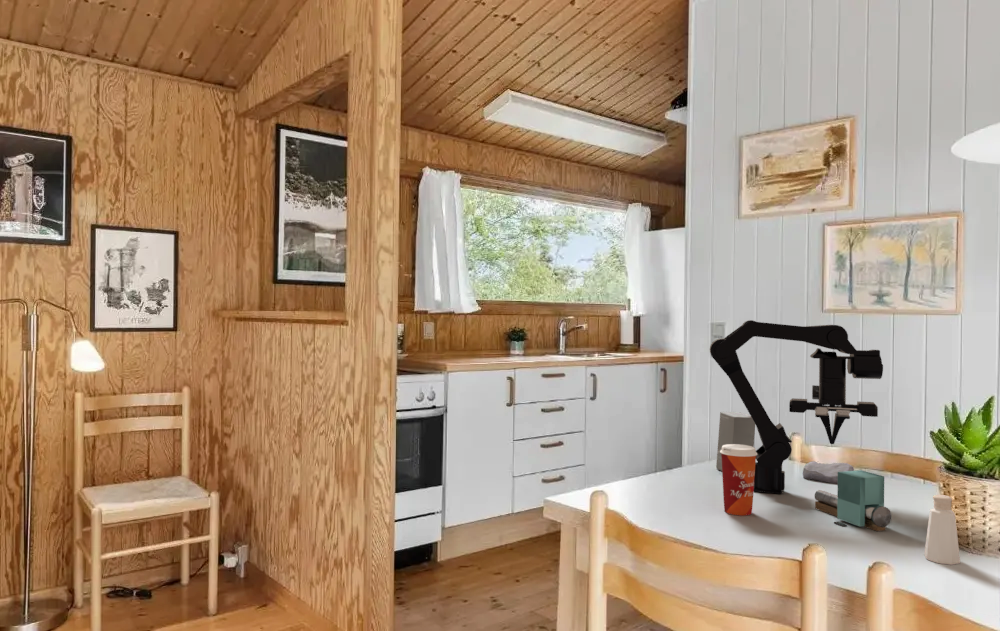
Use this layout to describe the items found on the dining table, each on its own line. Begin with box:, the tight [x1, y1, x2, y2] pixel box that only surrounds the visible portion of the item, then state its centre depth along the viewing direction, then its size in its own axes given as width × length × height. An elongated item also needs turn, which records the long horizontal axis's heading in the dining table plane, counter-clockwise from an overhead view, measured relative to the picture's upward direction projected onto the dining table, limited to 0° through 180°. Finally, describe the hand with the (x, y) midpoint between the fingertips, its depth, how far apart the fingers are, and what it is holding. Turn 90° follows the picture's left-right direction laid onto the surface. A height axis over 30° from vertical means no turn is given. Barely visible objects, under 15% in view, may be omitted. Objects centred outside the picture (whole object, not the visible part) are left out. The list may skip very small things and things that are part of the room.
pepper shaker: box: [923, 494, 961, 566], centre depth 124 cm, size 5×5×11 cm
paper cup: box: [720, 444, 757, 517], centre depth 154 cm, size 8×8×14 cm
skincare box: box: [715, 411, 756, 472], centre depth 193 cm, size 8×7×16 cm
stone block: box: [802, 460, 855, 484], centre depth 186 cm, size 12×5×10 cm
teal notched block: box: [836, 469, 885, 527], centre depth 146 cm, size 6×6×10 cm
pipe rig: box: [814, 489, 892, 532], centre depth 149 cm, size 18×11×5 cm, turn 17°
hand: (831, 443), depth 169 cm, fingers closed
